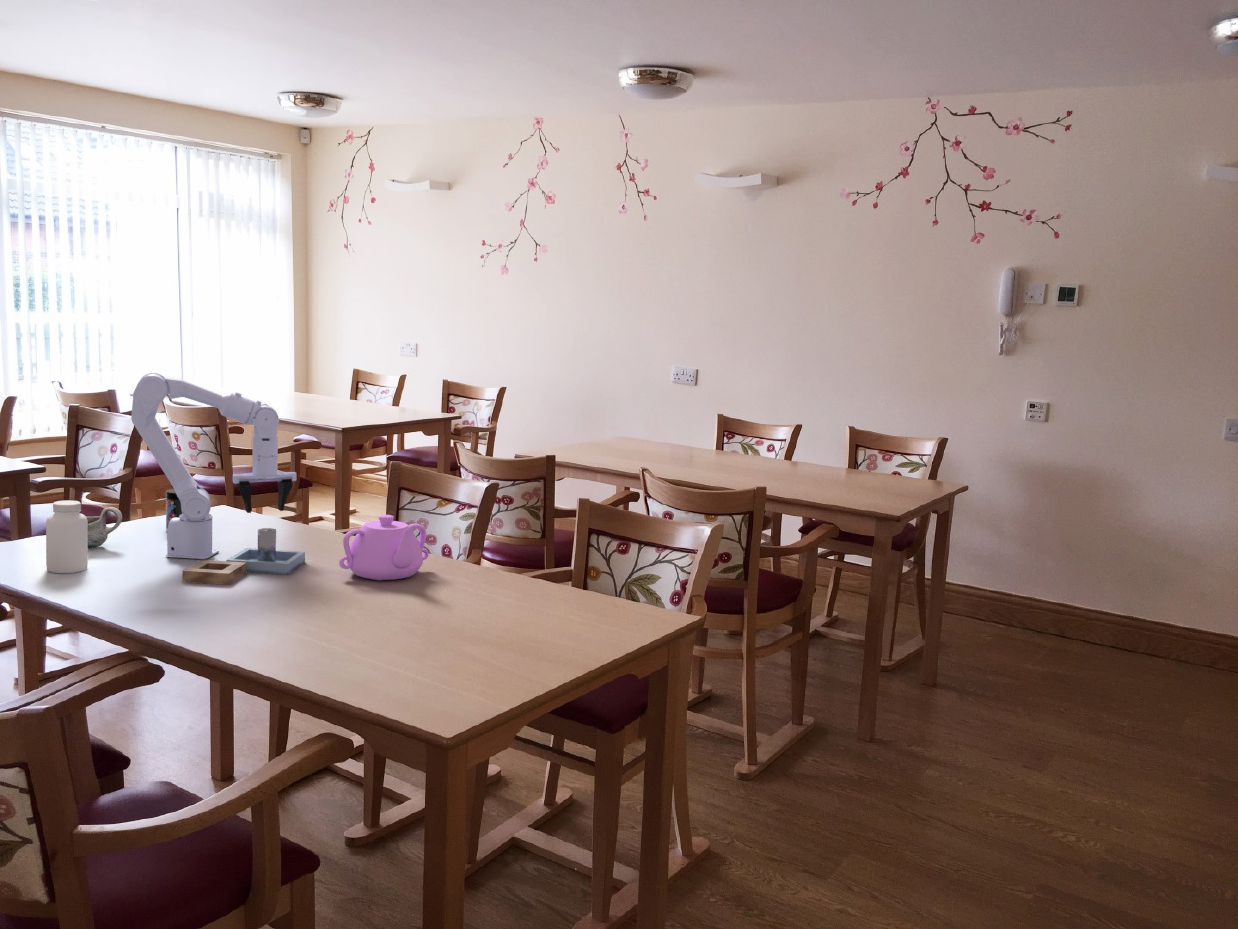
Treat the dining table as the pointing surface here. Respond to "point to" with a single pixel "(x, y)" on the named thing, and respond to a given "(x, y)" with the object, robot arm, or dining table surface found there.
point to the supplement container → (172, 506)
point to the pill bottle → (66, 538)
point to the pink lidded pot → (384, 549)
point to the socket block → (214, 572)
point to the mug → (101, 527)
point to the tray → (283, 564)
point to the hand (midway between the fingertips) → (264, 511)
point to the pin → (266, 545)
